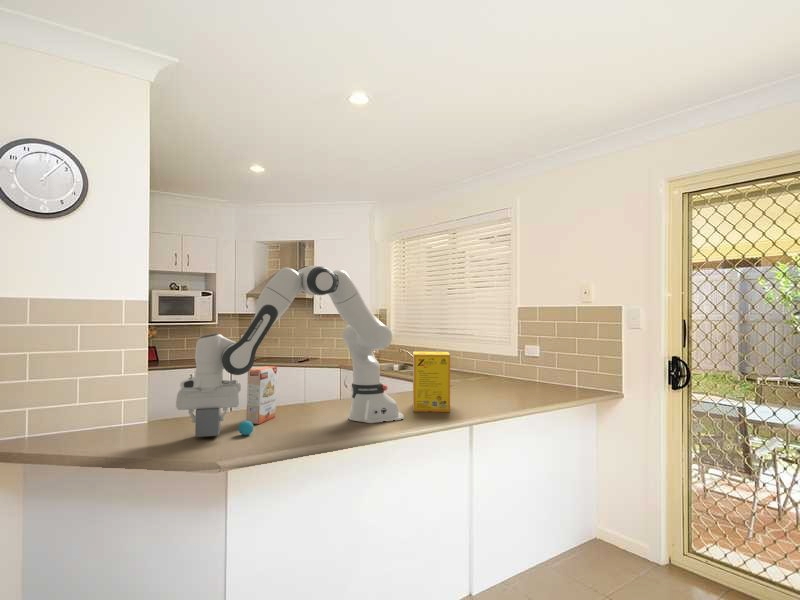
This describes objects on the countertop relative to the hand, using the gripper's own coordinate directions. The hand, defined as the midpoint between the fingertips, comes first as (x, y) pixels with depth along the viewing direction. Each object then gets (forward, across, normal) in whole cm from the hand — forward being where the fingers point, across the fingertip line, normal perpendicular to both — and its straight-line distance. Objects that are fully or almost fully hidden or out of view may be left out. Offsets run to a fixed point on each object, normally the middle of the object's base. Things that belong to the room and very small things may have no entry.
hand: (208, 421), depth 161 cm
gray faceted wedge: (+4, 0, 0) cm, 4 cm away
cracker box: (+6, -17, -22) cm, 29 cm away
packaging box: (+6, -91, -30) cm, 96 cm away
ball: (+3, -12, 0) cm, 13 cm away
